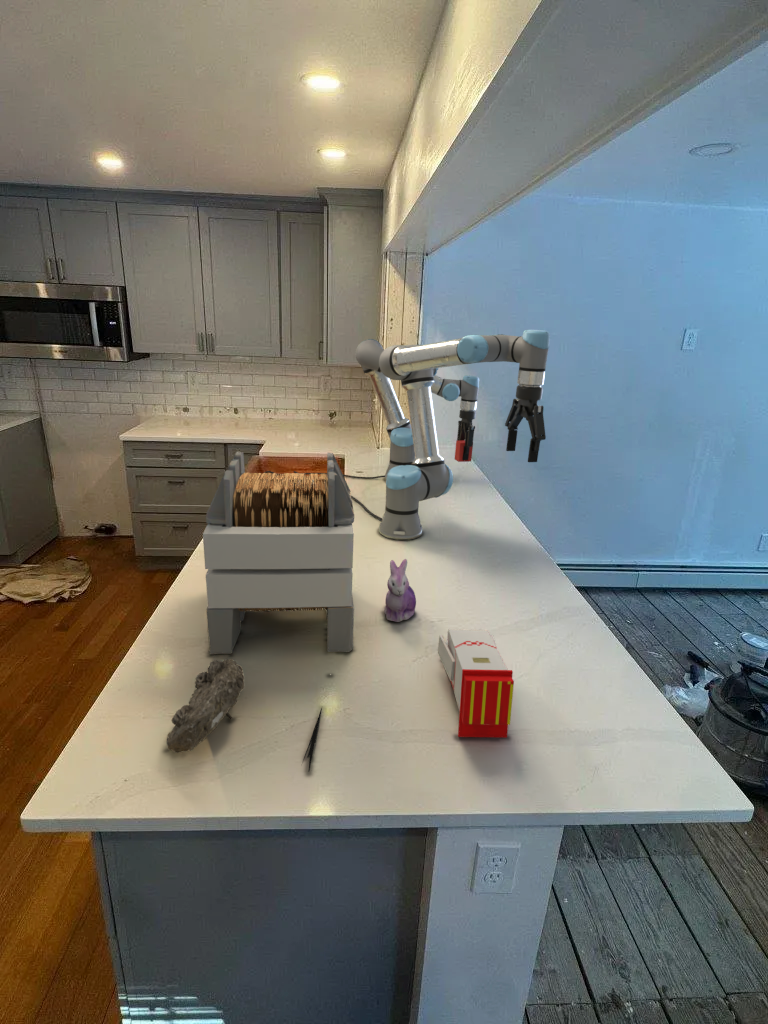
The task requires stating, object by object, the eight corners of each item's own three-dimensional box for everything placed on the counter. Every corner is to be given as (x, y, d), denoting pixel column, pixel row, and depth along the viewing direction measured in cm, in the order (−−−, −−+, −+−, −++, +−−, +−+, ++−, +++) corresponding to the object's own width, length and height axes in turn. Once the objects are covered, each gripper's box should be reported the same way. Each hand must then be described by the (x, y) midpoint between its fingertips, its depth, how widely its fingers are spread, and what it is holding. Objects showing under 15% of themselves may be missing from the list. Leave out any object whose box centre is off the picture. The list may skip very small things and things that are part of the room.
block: (471, 461, 271) (473, 442, 267) (458, 461, 269) (460, 442, 266) (467, 458, 275) (469, 440, 272) (454, 459, 273) (456, 440, 270)
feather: (331, 679, 122) (336, 673, 122) (307, 777, 96) (313, 769, 95) (324, 675, 122) (329, 669, 121) (298, 772, 95) (304, 764, 95)
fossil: (192, 660, 117) (244, 628, 112) (224, 691, 120) (276, 661, 115) (142, 746, 98) (202, 712, 93) (182, 779, 101) (242, 748, 96)
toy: (488, 613, 130) (523, 677, 101) (484, 667, 133) (517, 744, 104) (435, 612, 130) (455, 676, 101) (432, 666, 133) (451, 743, 103)
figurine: (392, 627, 141) (395, 572, 136) (374, 608, 149) (376, 556, 144) (425, 619, 145) (429, 566, 140) (405, 601, 154) (408, 550, 149)
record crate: (229, 585, 158) (221, 442, 144) (346, 584, 161) (350, 444, 148) (206, 656, 126) (193, 481, 112) (353, 652, 130) (358, 483, 116)
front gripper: (565, 391, 155) (553, 466, 163) (520, 380, 178) (512, 446, 185) (540, 391, 153) (530, 467, 161) (499, 379, 176) (491, 446, 183)
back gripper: (483, 413, 257) (478, 463, 265) (467, 406, 272) (462, 453, 280) (468, 413, 254) (463, 463, 262) (452, 406, 270) (448, 454, 278)
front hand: (521, 456), depth 173 cm, fingers open, 13 cm apart
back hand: (462, 458), depth 271 cm, fingers closed on block, 5 cm apart
